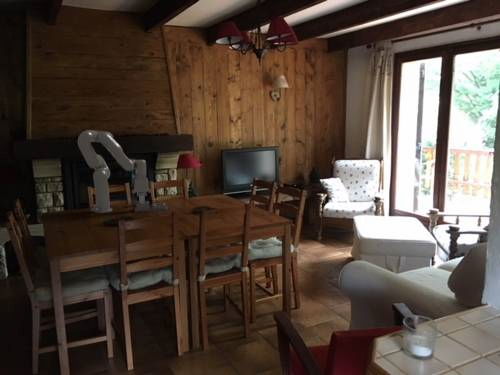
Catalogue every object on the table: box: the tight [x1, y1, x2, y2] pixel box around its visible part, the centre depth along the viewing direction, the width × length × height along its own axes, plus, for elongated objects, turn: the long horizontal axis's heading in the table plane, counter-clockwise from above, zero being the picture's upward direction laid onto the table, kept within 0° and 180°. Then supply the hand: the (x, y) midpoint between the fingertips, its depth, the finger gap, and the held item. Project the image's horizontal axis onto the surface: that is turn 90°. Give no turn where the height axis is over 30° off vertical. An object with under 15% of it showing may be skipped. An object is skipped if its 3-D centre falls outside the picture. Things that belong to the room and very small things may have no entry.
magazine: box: [133, 192, 153, 206], centre depth 336 cm, size 4×13×15 cm, turn 125°
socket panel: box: [134, 201, 169, 213], centre depth 319 cm, size 24×11×6 cm, turn 103°
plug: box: [139, 193, 145, 204], centre depth 317 cm, size 4×4×9 cm
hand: (142, 200), depth 317 cm, fingers closed on plug, 4 cm apart
